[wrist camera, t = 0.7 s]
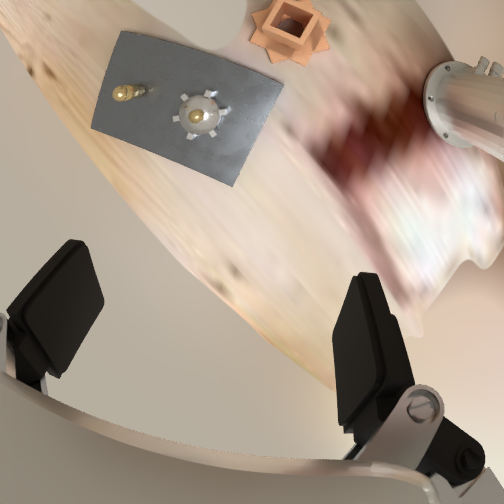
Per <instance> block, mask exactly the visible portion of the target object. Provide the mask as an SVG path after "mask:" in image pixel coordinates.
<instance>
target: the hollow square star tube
mask: <svg viewBox="0 0 504 504" xmlns="http://www.w3.org/2000/svg"><path fill="white" fill-rule="evenodd" d="M251 14H252V16H253V19H254V21H255V23H256V26H257V29H256V31H255V33H254V34H253V36H252V38H251V40H250V42H251V43H253V44H256V45H258V46H261V47H263V48H266V49H267V52H268V54H269V57H270V59H271V62H272V64H273V63H276V62H280V61H283V60H287V59H290V60H292V61H294V62H297V63H299V64H301V65H303V66H306V64H307V62H308V60H309V59H310V57H311V55H312V53H315V52H319V51H324V50H328V49H330V48H329V45H328V42H327V40H326V37H325V35H324V32H325V31H326V29H327V27H328V26H329V24H330V22H331V20H329V19H327V18H325V17H323V16H321V14H322V13H321V12H319V11H316V10H314V8H313V6H312V4H311V2H310V0H300V1H294V0H273V1H272V3H271V4H270V6H269V8H268V9H264V10H261V11H258V12H254V13H251ZM288 19H293V20H295V21H298V22H300V23H301V24H302V26H303V28H304V32H303V34H302V35H301V37H300V38H298V37H296V36H293V35H291V34H289V33H287V32H284V31H282V30H280V29H277V27H278V25H279V24H280V22H281V21H284V20H288Z"/></svg>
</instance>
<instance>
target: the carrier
mask: <svg viewBox="0 0 504 504" xmlns="http://www.w3.org/2000/svg"><path fill="white" fill-rule="evenodd" d="M283 86H284V85H283V84H281V83H279V82H277V81H275V80H273V79H270V78H268V77H266V76H264V75H261V74H259V73H257V72H254V71H252V70H250V69H247V68H245V67H242V66H240V65H237V64H235V63H232V62H230V61H227V60H224V59H222V58H219V57H216V56H213V55H210V54H207V53H204V52H201V51H198V50H195V49H192V48H189V47H186V46H182V45H179V44H176V43H172V42H168V41H165V40H161V39H157V38H153V37H149V36H145V35H140V34H136V33H131V32H126V31H121V33H120V35H119V38H118V40H117V43H116V45H115V48H114V51H113V53H112V56H111V59H110V62H109V65H108V68H107V71H106V74H105V77H104V80H103V83H102V87H101V90H100V93H99V97H98V101H97V104H96V108H95V112H94V116H93V120H92V124H91V129H94V130H97V131H99V132H102V133H105V134H107V135H110V136H112V137H115V138H118V139H120V140H123V141H125V142H128V143H130V144H133V145H135V146H138V147H140V148H143V149H145V150H148V151H150V152H153V153H155V154H158V155H160V156H162V157H165V158H167V159H170V160H172V161H174V162H177V163H179V164H181V165H184V166H186V167H188V168H191V169H193V170H195V171H198V172H200V173H202V174H204V175H207V176H209V177H211V178H213V179H216V180H218V181H220V182H222V183H224V184H227V185H229V186H231V187H233V185H234V183H235V181H236V179H237V177H238V175H239V173H240V170H241V168H242V166H243V164H244V162H245V160H246V158H247V156H248V154H249V152H250V150H251V148H252V146H253V144H254V142H255V140H256V138H257V136H258V134H259V132H260V130H261V128H262V126H263V124H264V122H265V121H266V119H267V117H268V115H269V113H270V111H271V109H272V107H273V105H274V103H275V101H276V99H277V98H278V96H279V94H280V92H281V90H282V88H283Z"/></svg>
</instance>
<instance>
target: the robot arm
mask: <svg viewBox="0 0 504 504" xmlns="http://www.w3.org/2000/svg"><path fill="white" fill-rule="evenodd" d="M488 64H489V61H488V59H486V58H485V57H483V56H481V58H480V60H479V62H478V65H477V67H474V68H473V67H471V66H469V65H468V64H465V63H462V62H457V61H448V62H444V63H441V64H439V65H438V66H436V67H435V68H434V69H433V70H432V71H431V72H430V74H429V76H428V77H427V79H426V83H425V86H424V92H423V104H424V110H425V114H426V117H427V120H428V122H429V124H430V126H431V128H432V129H433V130H434V132H435V133H436V134H437V135H438V136H439V137H440V138H441V139H442V140H443V141H445V142H446V143H448V144H450V145H452V146H455V147H458V148H470V147H473V146H477V147H479V148H480V149H482V150H484V151H486V152H488V153H489V154H491V155H493V156H495V157H496V158H498V159H500V160H501V161H503V162H504V78H501V77H502V75H503V72H504V68H503V67H502V66H501V65H500V64H498V63H497V62H493V64H492V66H491V69H490V72H489V74H488V75H485V73H484V72H485V70H486V69H487V67H488ZM445 68H446V69H445ZM428 97H429V99H428ZM443 134H444V135H443ZM103 306H104V297H103V294H102V291H101V288H100V285H99V282H98V279H97V276H96V273H95V270H94V267H93V263H92V260H91V256H90V253H89V249H88V247H87V246H86V245H85V243H84V242H83V241H81V240H73V239H70V240H68V241H67V242H66V243H65V244H64V245H63V246H62V247H61V248H60V249H59V250H58V251H57V252H56V253H55V254H54V255H53V256H52V257H51V258H50V259H49V260H48V262H47V263H46V264H45V265H44V266H43V267H42V268H41V269H40V270H39V271H38V273H37V274H36V275H35V276H34V277H33V278H32V279H31V280H30V282H29V283H28V284H27V285H26V286H25V287H24V289H23V290H22V291H21V292H20V293H19V295H18V296H17V297H16V298H15V300H14V301H13V302H12V303H11V305H10V306H9V307H8V309H7V310H6V311H7V313H8V314H9V316H10V318H9V320H8V319H7V318H6V316H5V315H4V314H2V313H0V504H504V489H503V487H502V486H501V484H500V483H499V481H498V480H497V478H496V477H495V475H494V473H493V472H492V471H491V469H490V468H489V467H487V468H485V467H484V464H485V453H484V450H483V448H482V446H481V445H480V443H479V442H478V441H476V440H475V439H474V438H472V437H471V436H469V435H468V434H467V433H465V432H464V431H463V430H461V429H460V428H459V427H457V426H456V425H455V424H453V423H452V422H451V421H449V420H448V419H447V418H445V417H444V416H443V415H444V403H443V400H442V398H441V396H440V395H439V393H438V392H437V391H435V390H434V389H433V388H431V387H429V386H427V385H421V384H419V385H415V381H414V377H413V373H412V369H411V366H410V362H409V358H408V355H407V351H406V348H405V344H404V341H403V337H402V334H401V331H400V327H399V324H398V321H397V319H396V317H395V316H394V315H393V314H391V313H390V310H389V307H388V303H387V300H386V297H385V294H384V291H383V289H382V286H381V283H380V280H379V277H378V275H377V274H376V273H367V272H360V273H359V274H358V276H353V277H352V280H351V283H350V286H349V289H348V292H347V295H346V297H345V300H344V303H343V306H342V309H341V311H340V314H339V317H338V320H337V322H336V325H335V327H334V330H333V335H332V343H333V354H334V365H335V377H336V391H337V408H338V423H339V425H340V426H343V427H344V428H343V429H344V433H353V434H354V442H355V444H354V446H353V447H352V448H351V449H350V451H349V452H348V453H347V454H346V455H345V456H344V457H343V459H342V460H327V459H325V460H324V459H292V458H277V457H266V456H255V455H245V454H238V453H231V452H224V451H218V450H212V449H207V448H201V447H196V446H192V445H187V444H182V443H177V442H174V441H170V440H166V439H161V438H158V437H154V436H151V435H147V434H144V433H140V432H137V431H134V430H130V429H127V428H124V427H122V426H118V425H116V424H113V423H110V422H107V421H105V420H102V419H99V418H97V417H94V416H92V415H89V414H87V413H84V412H82V411H80V410H77V409H75V408H73V407H70V406H68V405H66V404H64V403H61V402H59V401H57V400H55V399H53V398H51V397H49V396H48V391H47V385H46V379H45V373H46V371H47V372H48V373H49V374H50V375H52V376H54V377H56V378H58V379H60V377H61V375H62V373H64V372H65V371H66V370H67V368H68V367H69V365H70V363H71V361H72V359H73V358H74V356H75V354H76V352H77V350H78V349H79V347H80V345H81V343H82V342H83V340H84V338H85V336H86V335H87V333H88V331H89V330H90V328H91V326H92V325H93V323H94V321H95V320H96V318H97V316H98V315H99V313H100V312H101V310H102V308H103Z"/></svg>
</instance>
